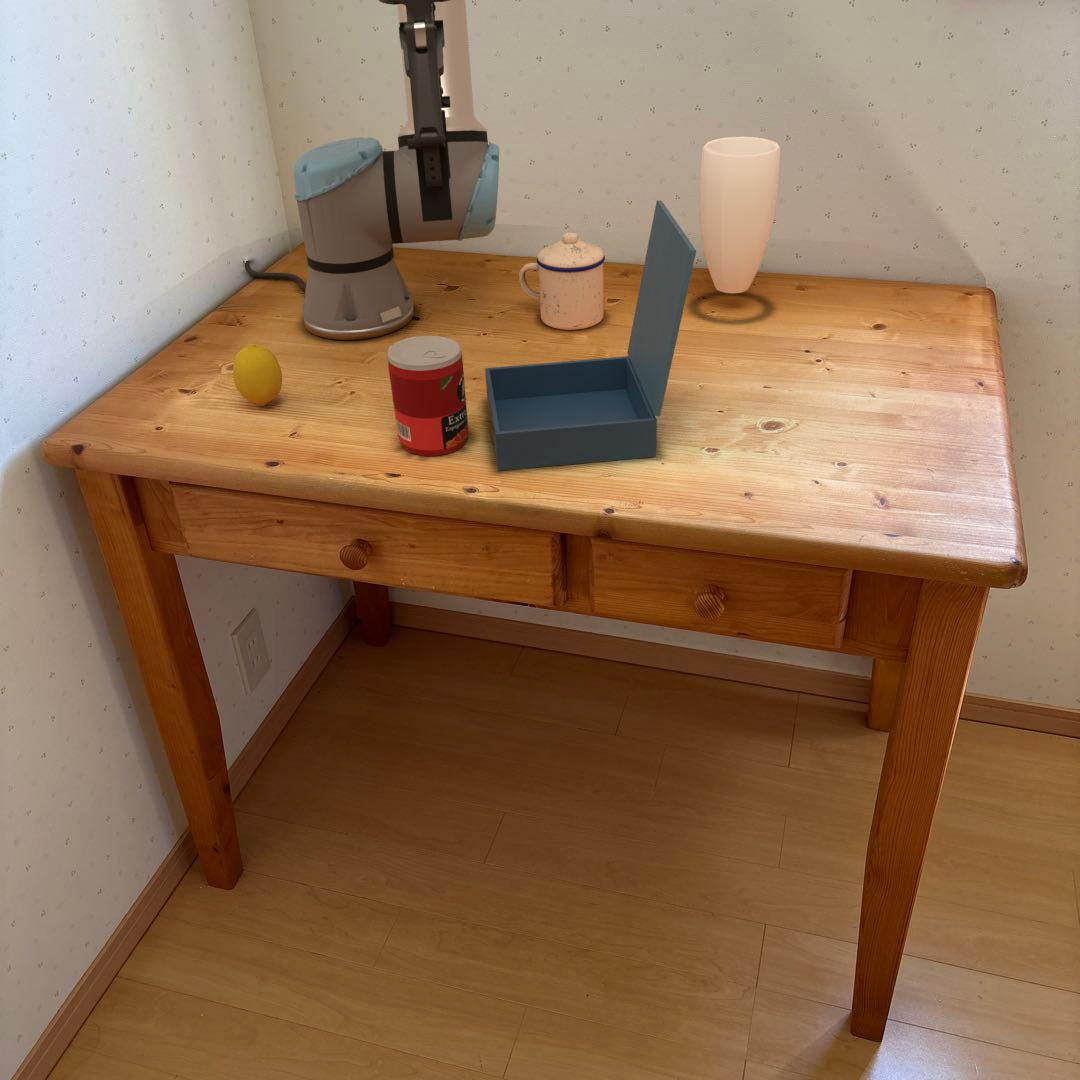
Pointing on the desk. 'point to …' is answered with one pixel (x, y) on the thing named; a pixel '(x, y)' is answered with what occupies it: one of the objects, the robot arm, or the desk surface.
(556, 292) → the teacup with lid
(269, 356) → the lemon
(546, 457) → the box
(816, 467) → the desk surface
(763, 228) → the cup
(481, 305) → the desk surface
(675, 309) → the lunchbox lid
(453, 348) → the canned food
